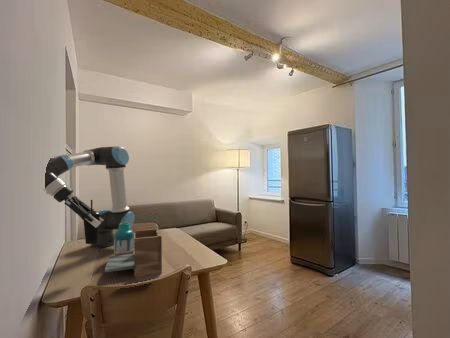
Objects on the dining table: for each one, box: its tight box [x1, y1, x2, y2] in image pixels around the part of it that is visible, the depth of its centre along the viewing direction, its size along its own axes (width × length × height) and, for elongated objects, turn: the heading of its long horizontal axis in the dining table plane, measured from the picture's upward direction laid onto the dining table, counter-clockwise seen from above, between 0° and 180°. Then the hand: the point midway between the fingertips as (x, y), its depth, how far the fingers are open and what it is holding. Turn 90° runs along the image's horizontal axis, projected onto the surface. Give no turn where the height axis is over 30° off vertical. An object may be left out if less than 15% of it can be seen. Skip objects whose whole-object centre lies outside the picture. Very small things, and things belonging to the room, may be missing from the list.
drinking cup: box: [82, 199, 101, 245], centre depth 114 cm, size 8×8×20 cm
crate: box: [104, 228, 163, 278], centre depth 119 cm, size 18×24×17 cm
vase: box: [113, 223, 135, 256], centre depth 135 cm, size 11×11×19 cm
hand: (99, 223), depth 115 cm, fingers closed on drinking cup, 7 cm apart
